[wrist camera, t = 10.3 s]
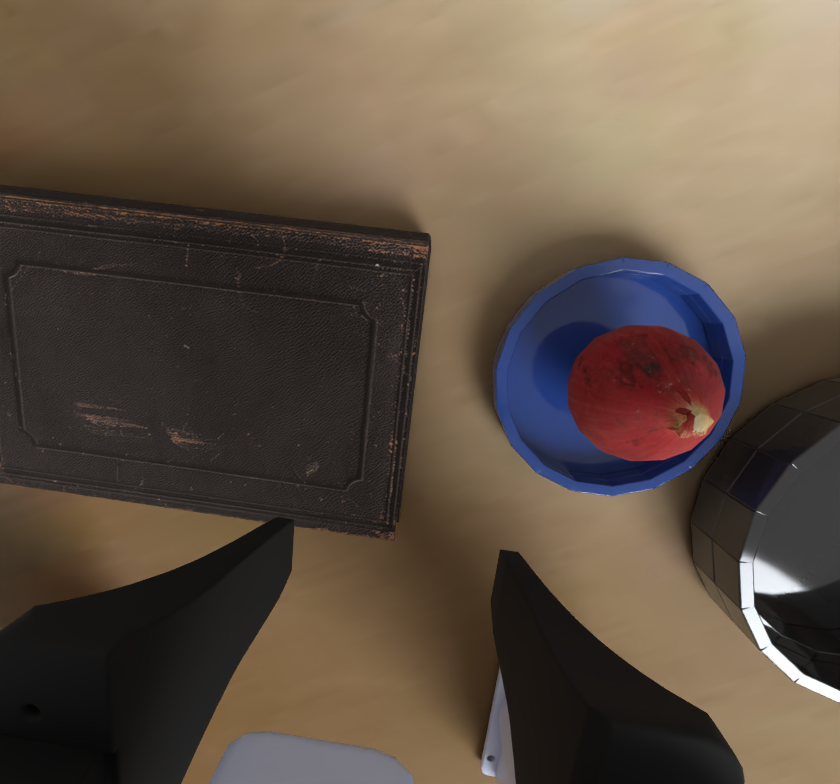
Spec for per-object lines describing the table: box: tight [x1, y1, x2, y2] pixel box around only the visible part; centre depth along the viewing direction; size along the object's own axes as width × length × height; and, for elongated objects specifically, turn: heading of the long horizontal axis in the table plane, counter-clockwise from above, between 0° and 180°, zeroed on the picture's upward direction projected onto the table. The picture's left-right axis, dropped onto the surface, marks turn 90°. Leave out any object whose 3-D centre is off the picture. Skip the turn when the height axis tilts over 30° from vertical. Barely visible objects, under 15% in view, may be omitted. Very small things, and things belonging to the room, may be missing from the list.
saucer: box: [492, 257, 746, 496], centre depth 20 cm, size 12×12×2 cm
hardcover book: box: [0, 185, 431, 541], centre depth 21 cm, size 16×23×2 cm
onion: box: [567, 325, 725, 461], centre depth 17 cm, size 6×6×8 cm
